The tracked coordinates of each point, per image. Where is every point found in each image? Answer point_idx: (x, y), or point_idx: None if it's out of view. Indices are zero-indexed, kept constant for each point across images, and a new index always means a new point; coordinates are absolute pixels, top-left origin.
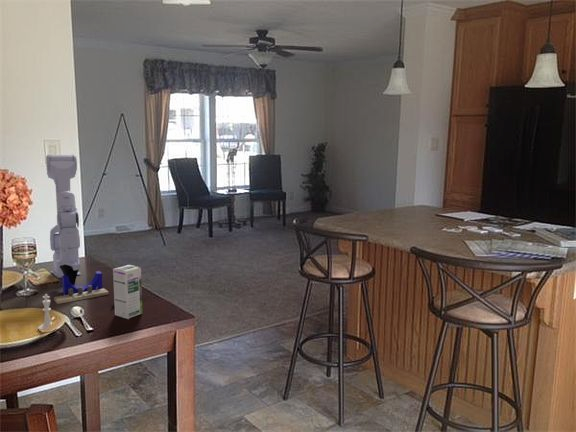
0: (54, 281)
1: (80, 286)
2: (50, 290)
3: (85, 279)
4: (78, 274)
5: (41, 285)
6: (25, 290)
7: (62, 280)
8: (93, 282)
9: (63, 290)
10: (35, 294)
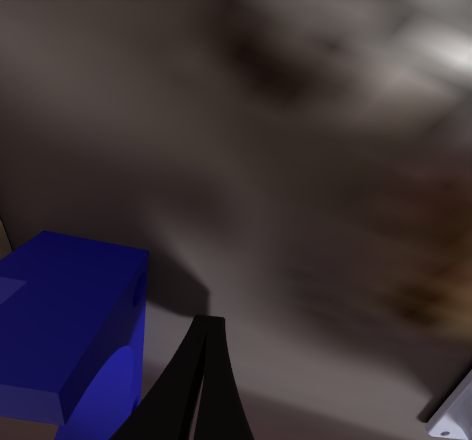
0: (453, 305)
1: (128, 358)
2: (262, 207)
3: (325, 410)
4: (429, 423)
5: (456, 204)
6: (459, 5)
7: (83, 333)
8: (76, 425)
9: (103, 260)
10: (234, 50)
